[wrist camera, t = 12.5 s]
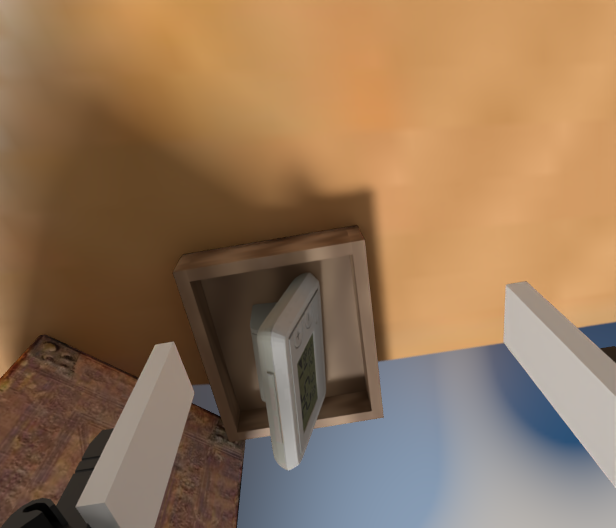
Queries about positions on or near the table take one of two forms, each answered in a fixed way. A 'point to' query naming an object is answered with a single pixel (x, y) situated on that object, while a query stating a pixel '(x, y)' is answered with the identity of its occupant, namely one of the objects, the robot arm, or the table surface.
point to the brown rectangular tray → (269, 289)
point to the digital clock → (290, 366)
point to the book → (89, 423)
